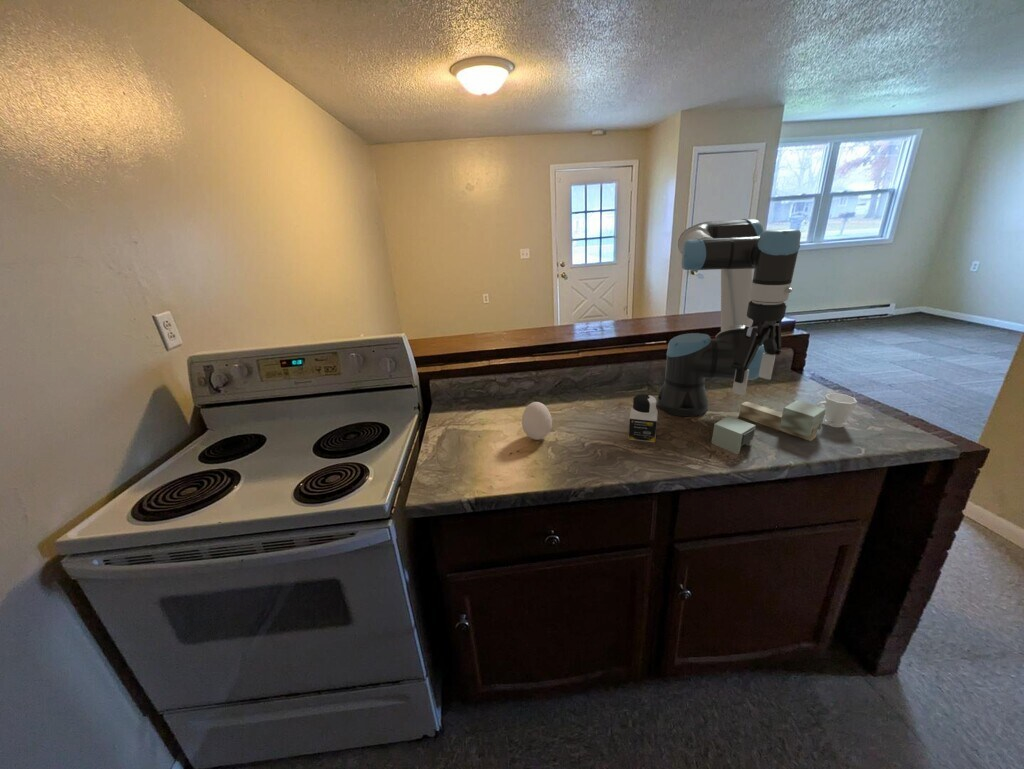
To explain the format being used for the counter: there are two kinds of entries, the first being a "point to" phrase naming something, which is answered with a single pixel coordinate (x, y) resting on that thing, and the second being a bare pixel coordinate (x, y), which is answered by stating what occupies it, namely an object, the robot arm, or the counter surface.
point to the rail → (769, 418)
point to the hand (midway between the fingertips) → (751, 385)
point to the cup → (837, 409)
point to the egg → (536, 421)
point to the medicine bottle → (643, 418)
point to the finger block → (733, 434)
